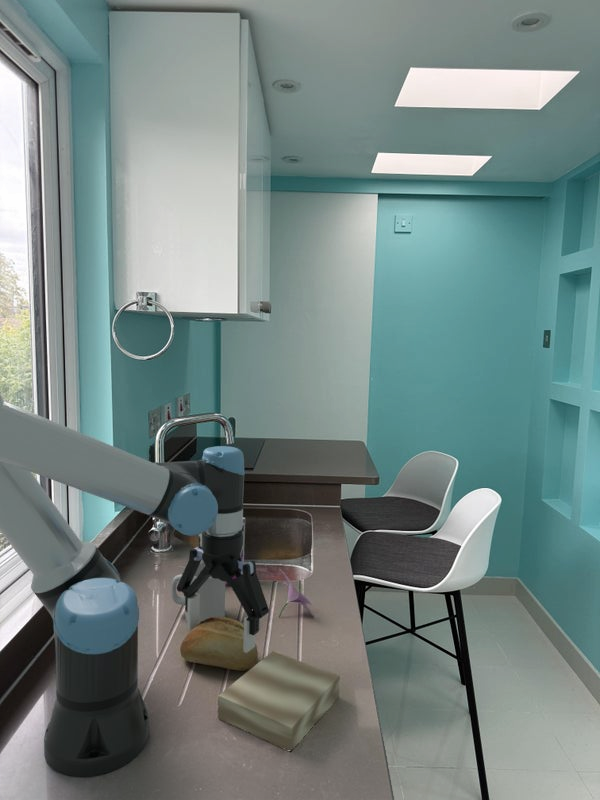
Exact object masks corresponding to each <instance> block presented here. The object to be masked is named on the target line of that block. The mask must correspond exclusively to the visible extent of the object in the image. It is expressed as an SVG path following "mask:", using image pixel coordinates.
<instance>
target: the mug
mask: <svg viewBox="0 0 600 800" xmlns="http://www.w3.org/2000/svg"><path fill="white" fill-rule="evenodd" d="M204 567H205V564H204V563H200V564H199V567H198V569H197V571H196V573H195V575H194V577H193V580H192V582H193V581H194V580H195V579H196V578H197V576H198V575H199V574H200V572H201V571H202V569H203V568H204ZM182 574H183V573H181V574H177V575H175V576H174V578H173V579H172V582H171V586H170V587H171V588H170V589H171V590H170V592H171V598H172V600H173V602H174V603H175V604H177V605H181V606H185V596H184V597H183V596H181V597H180V596H179V595H178V593H177V585H178V583H179V581H180V579H181V577H182ZM192 582H191V583H192ZM190 585H191V584H190ZM195 594H200V617H199V623H200V622H201V621H204V620H205V619H208V618H211V617H226V586H225V582H224V581H221V580H220V579H214V578H212V576H210V577H209V578H208V579H207V580H206V582H205V583H204V584H203V585H202V586H201V587H200V588H199V590H198V592H196V593H195ZM185 620H186V622H187V612H186V611H185Z"/></svg>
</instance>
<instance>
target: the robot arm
mask: <svg viewBox="0 0 600 800" xmlns="http://www.w3.org/2000/svg"><path fill="white" fill-rule="evenodd" d="M202 453H203V454H202V457H201V459H196V460H186V461H167V462H157V461H155V462H152V461H150V460H147V459H145V458H142V457H141V456H137V455H135V454H132V453H130V452H127V451H125V450H123V449H120V448H119V447H116V446H114V445H111V444H109V443H106V442H103V441H102V440H99V439H96V438H95V437H91V436H90V435H87V434H84V433H82V432H79V431H77V430H75V429H73V428H70V427H67V426H66V425H63V424H61V423H58V422H56V421H53V420H51V419H49V418H46V417H43V416H42V415H39V414H37V413H34V412H31V411H30V410H27V409H24V408H22V407H19V406H17V405H15V404H12V403H10V402H8V401H5V400H4V399H3V397H2V394H1V393H0V533H1V535H3V536H4V538H5V539H6V540H7V542H8V543H9V544H10V546H11V547H12V548H13V550H14V552H15V553H17V556H19V557H20V559H21V560H22V561H23V563H24V564H25V566H26V567H27V568H28V569H29V571H30V572H31V574H33V576H32V580H31V584H30V589H31V591H32V592H33V594H35V596H36V597H37V599H38V600H39V601H40V603H41V604H42V606H44V608H45V610H47V612H48V614H49V615H50V616H51V618H52V623H53V625H52V626H53V636H54V647H55V687H56V688H55V689H56V690H55V691H56V693H55V695H56V697H55V699H56V700H55V702H54V705H53V709H52V713H51V717H50V721H48V722H49V723H48V725H47V727H46V729H45V731H44V737H43V752H44V753H43V754H44V758H45V761H46V763H47V764H48V765H49V766H50V768H52V769H53V770H54V771H56V772H58V773H60V774H62V775H63V774H64V775H67V776H69V777H70V776H71V777H93V776H99V775H103V774H107V773H110V772H112V771H115V770H117V769H119V768H121V767H124V766H125V765H127V764H129V762H131V761H133V760H134V759H136V757H137V756H138V755H139V754H140V753H141V752H142V751H143V749H144V748H145V746H146V745H147V742H148V741H149V738H150V716H149V713H148V710H147V707H146V704H145V702H144V701H145V700H144V699H143V697H142V694H141V691H140V689H139V685H138V683H139V682H138V681H139V680H138V679H139V678H138V677H139V676H138V674H139V671H138V669H139V667H138V665H139V664H138V663H139V662H138V661H139V660H138V659H139V657H138V656H139V655H138V653H139V641H138V640H139V637H138V636H139V621H140V608H139V607H140V606H139V605H138V598H137V593H136V592H135V591H134V589H133V588H132V587H131V586H130V585H129V584H127V583H125V582H124V581H122V580H121V579H122V577H121V575H120V573H119V572H118V570H117V568H116V566H114V564H112V563H111V562H110V561H109V560H108V559H106V558H105V557H104V556H103V554H102V553H101V550H99V548H98V547H97V545H96V544H95V543H93V542H91V541H83V540H80V539H79V537H78V535H77V534H76V533H75V531H74V530H73V529H72V527H71V526H70V524H69V523H68V522H67V520H66V519H65V517H64V516H63V515H62V514H61V512H60V510H59V509H58V508H57V506H56V505H55V503H54V502H53V501H52V500H51V497H50V496H49V495H48V493H47V492H46V491H45V490H44V487H43V486H42V485H41V484H40V483H39V481H38V479H37V477H35V475H34V474H36V475H38V476H41V477H45V478H46V479H49V480H52V481H55V482H58V483H60V484H63V485H66V486H68V487H71V488H74V489H77V490H79V491H82V492H85V493H88V494H91V495H93V496H95V497H99V498H101V499H104V500H107V501H109V502H111V503H112V502H113V503H114V504H118V505H121V506H123V507H126V508H129V509H131V510H134V511H137V512H139V513H142V514H145V515H147V516H149V517H152V518H155V519H158V520H160V521H162V522H164V523H168V524H169V525H170V526H171V527H172V528H173V529H174V530H175V531H178V532H179V534H182V535H186V536H191V537H194V536H199V534H201V533H202V547H201V546H199V545H198V546H197V547H195V548H192V549H190V550H189V556H188V561H187V563H186V565H185V569H184V571H183V572H182V573H181V574H182V577H181V579H180V581H179V582H177V585H176V592H179V593H182V594H183V596H184V597H185V605H184V610H185V613H186V612H187V621H186V622H187V623H186V625H187V626H186V631H188V632H190V631H191V630H192V629H193V628H194V627H196V626H197V625H198V624H199V617H200V594H195V593H196V592H198V590H199V588H200V587H201V586H202V585H203V584H204V583H205V582H206V580H207V579H208V578H209V577H210V576H212V578H214V579H220V580H221V581H224V582H225V581H226V582H227V584H228V585H229V586H228V587H229V588H230V587H231V588H232V591H233V592H234V594H235V596H236V598H237V600H238V601H239V603H240V605H241V607H242V608H243V610H244V612H245V614H246V616H245V617H243V624H244V643H243V652H245V653H247V652H249V651H250V650H251V649H253V648H254V647H255V643H256V634H257V633H259V631H260V619H262V618H263V617H265V616H266V615H268V614H269V612H270V609H269V606H268V604H267V601H266V597H265V594H264V592H263V589H262V587H261V584H260V581H259V580H260V579H259V577H258V575H257V564H256V562H255V561H254V560H250V561H244V562H243V561H242V560H241V556H240V554H241V551H242V540H243V532H242V531H241V529H242V527H243V518H244V491H245V490H244V489H245V487H244V485H245V475H246V472H245V459H244V453H243V451H242V450H241V449H239V448H238V447H234V446H228V445H227V446H226V445H221V446H220V445H217V446H211V447H207V448H205V449H204V450H203V452H202ZM202 559H203V562H204V564H205V567H204V568H203V569H202V571H201V572H200V574H199V575H198V576H197V578H196V579H195V580H194V581H193V582H192V580H193V577H194V575H195V573H196V571H197V569H198V567H199V564H200V562H201V560H202ZM240 569H241V570H242V571H240ZM235 575H236V577H237V578H236V579H232V578H233V577H234V576H235ZM191 582H192V583H191ZM190 584H191V585H190Z"/></svg>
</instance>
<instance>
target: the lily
mask: <svg viewBox="0 0 600 800" xmlns="http://www.w3.org/2000/svg"><path fill="white" fill-rule="evenodd" d="M278 570H279V571H280V572H281V574H282V575H283V576H284V578H285V579H286V582H282V584H283V585H284V586H285V587H287V601H286V602H285V604H284V605H283V607H282V609H281V610H280V613H279V614H278V617H277V618H279V619H280V617H281V616H282V613H283V611H284V609H285V608H286V606H288V604H289V603H295V604H298V605H299V604H300V605H302V606H303V607H305V608H306V609H307V611H308V612H310V614H311V615H312V617H315V616H314V614H313V612H312V610H311V609H310V607H309V606H312V607H314V604H313V603H312V602H311V600H310V599H309V598H308V597H307V596H306V595H304V594H303V592H302V591H303V589H301V588H299V589H298V590H297V588H296V586H294V585H293V584H292V583H291V580H290V579H289V577H288V576H287V575H286V573H285V572H284V571H283V570H282V569H280V568H278ZM307 605H308V606H307Z"/></svg>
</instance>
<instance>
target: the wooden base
mask: <svg viewBox="0 0 600 800" xmlns="http://www.w3.org/2000/svg"><path fill="white" fill-rule="evenodd" d="M340 677H341V675H339V674H336V673H333V672H330V671H328V670H325V669H323V668H320V667H318V666H317V667H316V666H315V665H312V664H309V663H306V662H304V661H301V660H299V659H296V658H293V657H290V656H287V655H284V654H281V653H280V652H278V651H274V650H272V651H271V652H270V653H268V654H267V655H266V656H265V657H263V658H262V659H261V660H260V661H258V663H257V662H256V664H255V665H254V666H253V667H251V668H250V669H248V670H247V672H245V673H244V674H243V675H241V676H240V677H239V678H238V679H237V680H235V681H234V682H233V683H232V684H230V685H229V686H228V687H227V688H226V689H224V690H223V691H222V692H220V694H218V696H217V697H218V698H217V719H218V718H219V719H218V720H220V719H221V720H220V721H222V720H223V722H224V721H225V723H227V724H229V723H230V725H231V724H232V725H231V726H233V725H234V726H233V727H235V726H237V727H239V728H241V729H240V730H242V729H243V730H242V731H243V732H244V731H245V732H246V731H247V733H248V732H250V733H251V734H250V733H249V734H250V735H252V734H253V736H254V735H255V737H257V736H258V737H257V738H259V737H260V738H259V739H261V738H262V739H261V740H263V739H265V740H267V741H269V742H268V743H270V742H271V743H270V744H272V743H273V744H272V745H274V744H275V745H274V746H276V745H278V746H280V747H282V748H285V749H287V750H290V751H291V750H292V749H293V748H294V747H295V746H296V745H297V744H298V743H299V744H300V743H301V741H302V740H303V739H304V738H305V737H306V736H307V734H308V733H309V732H310V731H311V730H312V729H313V728H312V727H314V726H315V725H316V724H317V723H318V722H319V721H320V720H321V719H322V718H323V716H324V715H325V714H326V713H327V712H328V711H329V710H330V708H331V707H332V706H333V705H334V704H335V702H337V700H338V699H339V698H340V679H341V678H340ZM333 703H334V704H333ZM326 711H327V712H326ZM324 713H325V714H324ZM319 719H320V720H319ZM318 720H319V721H318ZM317 721H318V722H317ZM316 722H317V723H316ZM315 723H316V724H315ZM314 724H315V725H314ZM237 727H236V728H237ZM239 728H238V729H239ZM311 728H312V729H311ZM310 729H311V730H310ZM305 735H306V736H305ZM304 736H305V737H304ZM303 737H304V738H303ZM265 740H264V741H265ZM267 741H266V742H267ZM299 744H298V745H299ZM298 745H297V746H298ZM278 746H277V747H278ZM297 746H296V747H297ZM280 747H279V748H280ZM296 747H295V748H296ZM282 748H281V749H282ZM295 748H294V749H295ZM285 749H284V750H285ZM294 749H293V750H294ZM287 750H286V751H287ZM293 750H292V751H293Z"/></svg>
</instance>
